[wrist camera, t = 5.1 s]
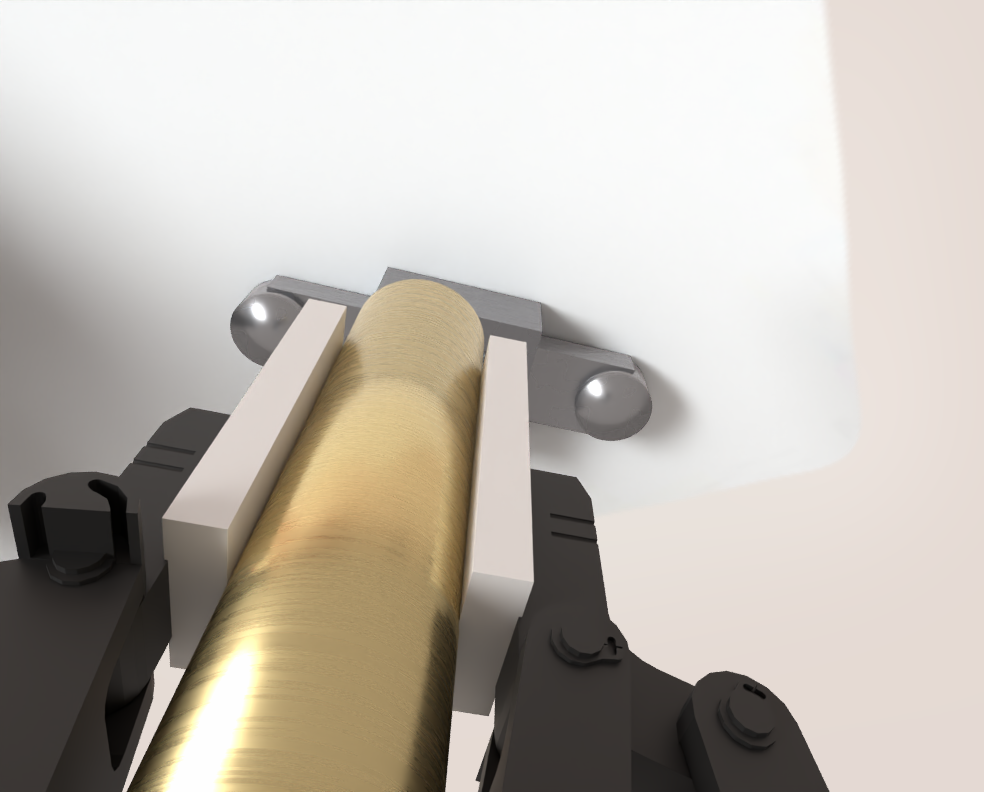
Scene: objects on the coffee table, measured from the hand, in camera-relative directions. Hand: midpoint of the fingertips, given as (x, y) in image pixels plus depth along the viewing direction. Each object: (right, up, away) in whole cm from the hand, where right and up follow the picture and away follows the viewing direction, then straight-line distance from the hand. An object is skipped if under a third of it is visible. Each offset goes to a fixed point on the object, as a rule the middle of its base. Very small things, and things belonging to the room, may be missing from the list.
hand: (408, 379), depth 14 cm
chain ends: (-1, +2, +23) cm, 23 cm away
